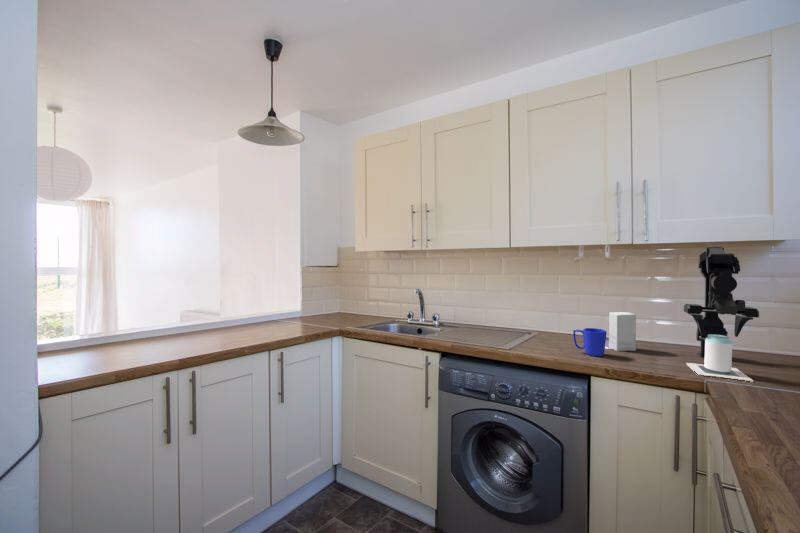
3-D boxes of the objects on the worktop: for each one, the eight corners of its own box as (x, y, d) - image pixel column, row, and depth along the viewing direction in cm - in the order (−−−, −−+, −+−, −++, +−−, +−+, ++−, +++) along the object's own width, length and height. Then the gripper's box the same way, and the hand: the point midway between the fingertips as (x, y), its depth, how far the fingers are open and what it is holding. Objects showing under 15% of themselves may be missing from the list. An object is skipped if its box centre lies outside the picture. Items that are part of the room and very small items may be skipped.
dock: (686, 364, 134) (686, 362, 134) (735, 369, 128) (735, 367, 128) (698, 375, 122) (698, 373, 122) (753, 382, 116) (753, 380, 116)
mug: (574, 349, 155) (575, 326, 154) (607, 353, 148) (607, 329, 148) (571, 353, 148) (571, 329, 148) (604, 358, 141) (605, 333, 141)
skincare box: (627, 347, 158) (628, 311, 158) (636, 351, 152) (637, 314, 151) (607, 347, 158) (608, 311, 158) (616, 351, 152) (617, 314, 151)
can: (732, 375, 120) (733, 339, 120) (704, 371, 124) (706, 336, 124) (729, 369, 126) (731, 335, 125) (703, 366, 130) (704, 332, 129)
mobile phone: (606, 347, 156) (596, 339, 170) (606, 349, 156) (596, 341, 170) (626, 348, 154) (614, 340, 168) (626, 350, 154) (614, 342, 168)
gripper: (693, 291, 121) (691, 337, 121) (768, 293, 112) (766, 343, 113) (683, 288, 131) (682, 331, 131) (752, 290, 123) (750, 336, 123)
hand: (718, 335), depth 124 cm, fingers open, 9 cm apart
